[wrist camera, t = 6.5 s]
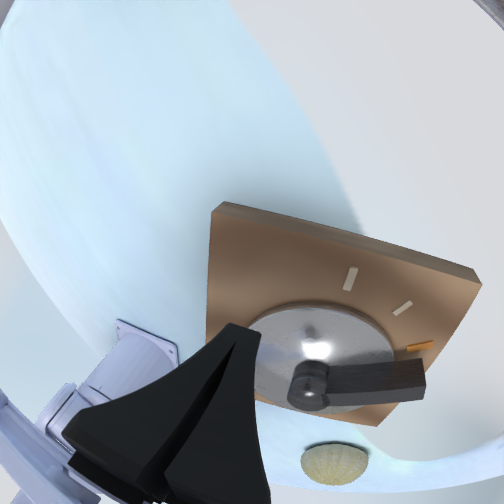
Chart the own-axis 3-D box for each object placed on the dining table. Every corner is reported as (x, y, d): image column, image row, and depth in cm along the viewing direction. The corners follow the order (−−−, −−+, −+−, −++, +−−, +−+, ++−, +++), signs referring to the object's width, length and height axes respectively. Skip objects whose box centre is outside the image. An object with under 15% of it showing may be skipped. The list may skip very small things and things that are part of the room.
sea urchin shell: (339, 444, 27) (357, 496, 23) (366, 423, 32) (382, 468, 28) (283, 455, 31) (300, 501, 27) (315, 438, 37) (330, 479, 33)
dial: (262, 403, 25) (252, 432, 22) (219, 306, 21) (198, 339, 18) (412, 399, 20) (413, 432, 17) (425, 288, 15) (436, 326, 12)
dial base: (377, 411, 25) (376, 428, 23) (212, 368, 28) (204, 384, 26) (473, 268, 16) (483, 286, 14) (223, 201, 19) (210, 212, 17)
